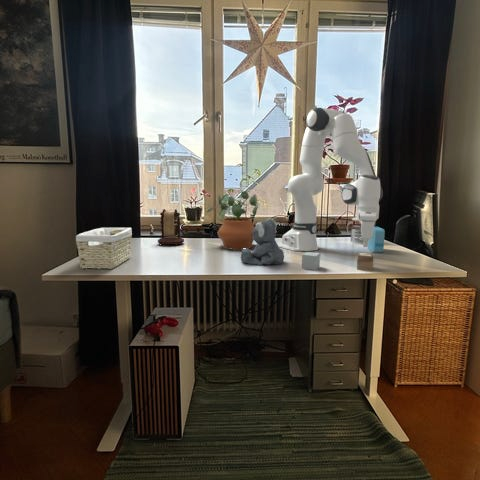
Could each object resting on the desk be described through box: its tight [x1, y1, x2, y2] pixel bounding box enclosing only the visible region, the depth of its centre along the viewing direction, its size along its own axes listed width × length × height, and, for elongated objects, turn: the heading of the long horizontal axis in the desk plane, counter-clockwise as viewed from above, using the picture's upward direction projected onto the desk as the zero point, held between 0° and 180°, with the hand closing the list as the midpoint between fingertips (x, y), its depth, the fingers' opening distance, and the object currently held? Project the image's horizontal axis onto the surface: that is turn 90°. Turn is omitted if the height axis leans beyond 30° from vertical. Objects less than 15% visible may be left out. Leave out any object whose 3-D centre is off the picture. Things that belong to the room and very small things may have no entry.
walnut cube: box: [356, 252, 374, 272], centre depth 147 cm, size 6×6×6 cm
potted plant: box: [206, 191, 259, 250], centre depth 190 cm, size 23×28×30 cm
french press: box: [346, 216, 363, 245], centre depth 202 cm, size 10×12×25 cm
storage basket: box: [75, 227, 133, 270], centre depth 154 cm, size 24×16×15 cm
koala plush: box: [240, 217, 285, 266], centre depth 157 cm, size 17×18×20 cm
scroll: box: [157, 208, 185, 246], centre depth 198 cm, size 15×15×20 cm
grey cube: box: [301, 251, 321, 271], centre depth 148 cm, size 6×6×6 cm
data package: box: [367, 226, 386, 254], centre depth 181 cm, size 12×4×12 cm, turn 176°
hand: (365, 246), depth 149 cm, fingers closed
